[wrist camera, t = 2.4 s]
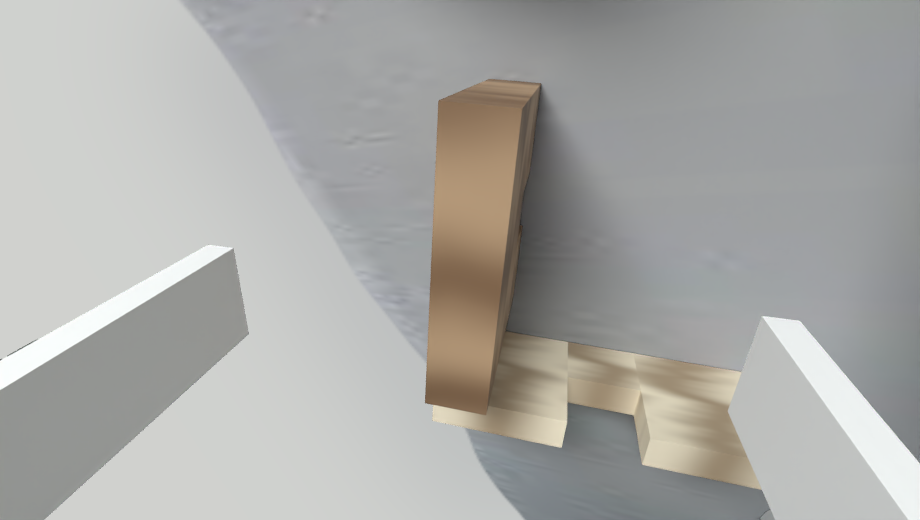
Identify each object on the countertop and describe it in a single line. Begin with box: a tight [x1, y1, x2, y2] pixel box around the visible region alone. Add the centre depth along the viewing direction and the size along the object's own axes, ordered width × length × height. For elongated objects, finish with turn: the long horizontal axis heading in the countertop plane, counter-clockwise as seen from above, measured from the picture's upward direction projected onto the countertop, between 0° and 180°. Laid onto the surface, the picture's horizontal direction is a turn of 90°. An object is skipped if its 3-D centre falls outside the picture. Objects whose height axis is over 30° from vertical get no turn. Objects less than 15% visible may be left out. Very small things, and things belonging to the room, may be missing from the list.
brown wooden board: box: [425, 79, 541, 415], centre depth 25 cm, size 14×3×12 cm, turn 176°
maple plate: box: [432, 331, 762, 490], centre depth 30 cm, size 20×2×8 cm, turn 86°
